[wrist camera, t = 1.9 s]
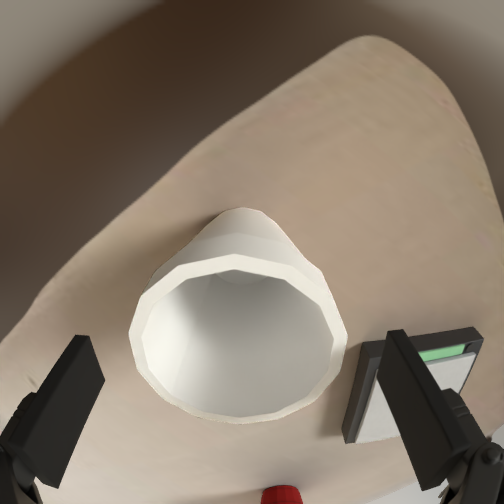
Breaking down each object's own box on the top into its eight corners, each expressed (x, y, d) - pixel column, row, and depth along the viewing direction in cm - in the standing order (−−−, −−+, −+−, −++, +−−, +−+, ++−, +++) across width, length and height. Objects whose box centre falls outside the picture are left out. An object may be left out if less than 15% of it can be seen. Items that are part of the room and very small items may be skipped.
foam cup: (327, 239, 25) (387, 340, 13) (252, 318, 28) (254, 443, 16) (231, 161, 23) (209, 202, 11) (160, 254, 26) (98, 359, 13)
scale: (362, 341, 29) (371, 362, 26) (473, 326, 29) (487, 342, 26) (341, 428, 34) (346, 447, 31) (437, 410, 34) (446, 426, 31)
